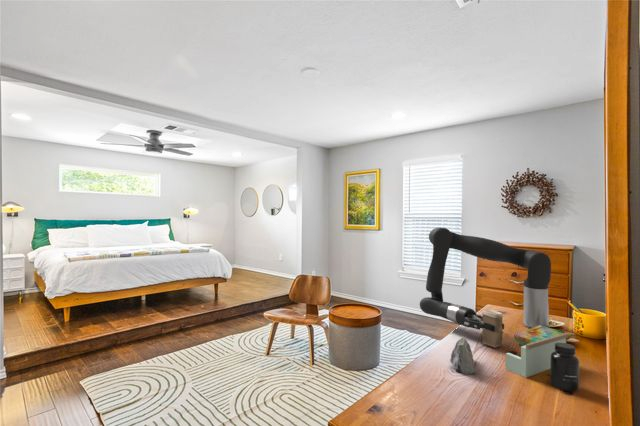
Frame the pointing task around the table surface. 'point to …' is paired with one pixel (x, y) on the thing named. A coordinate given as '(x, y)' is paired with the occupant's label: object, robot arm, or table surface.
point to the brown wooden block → (496, 320)
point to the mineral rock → (462, 357)
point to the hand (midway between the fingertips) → (499, 327)
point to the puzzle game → (537, 335)
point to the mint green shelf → (534, 356)
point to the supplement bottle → (564, 368)
